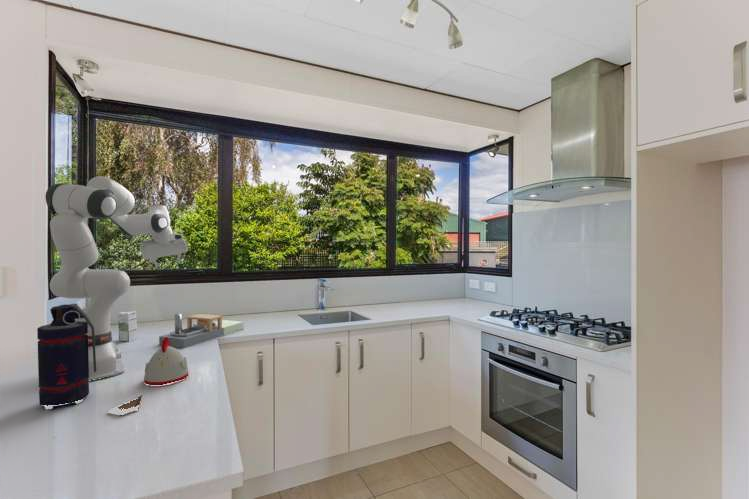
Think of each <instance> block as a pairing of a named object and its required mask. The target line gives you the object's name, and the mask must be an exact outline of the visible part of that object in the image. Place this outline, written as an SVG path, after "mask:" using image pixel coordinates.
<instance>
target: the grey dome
mask: <svg viewBox="0 0 749 499" xmlns="http://www.w3.org/2000/svg"><path fill="white" fill-rule="evenodd" d="M162 343H163V345H160V346H161V347H160V348H158V350H157V351H156V352H155V353H154V354H152V356H151V358H150V359H149V361H148V362H146V363H145V368H144V376H143V383H144V382H145V383H146V384H149V385H163V384H167V383H171V382H175V381H179V380H182V379H184V378H186V377H187V376H188V377H189V368H188V361H187V357H185V356H183V354H182V353H181V352H180V351H179V350H178V349H177V348H176V347H173V346H170V341H169V339H168V337H166V338H165V339H164V340H163V341H162Z"/></svg>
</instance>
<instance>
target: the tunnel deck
mask: <svg viewBox="0 0 749 499" xmlns="http://www.w3.org/2000/svg"><path fill="white" fill-rule="evenodd" d="M186 319H187V323H186V324H187V326H186V327H187V328H189V327H193V320H196V322H197V321H198V320H207V321H208V330H206V331H202V332H199V333H195V334H192V335H188V336H177V335H170V333H166V334H163V335H160V336H159V338H158V339H159V340H158V341H159V344H158V345H159V346H161V345H163V343H162V341H163V340H164V339H165V338H166V337H168V339H169V341H170V347H173V348H181V349H184V348H188V347H191V346H193V345H194V346H195V345H197V344H201V343H204V342H206V341H210V340H214V339H216V337H217V338H219V336H220V337H222V336H221V335H223V336H226V335H229V334H232V333H234V331H235V332H238V331H237V330H239V331H241V329H242V330H244V328H245V327H244V326H245V325H244V321H239V320H238V321H236V320H229V319H228V320H226V319H223V315H217V314H215V315H214V314H208V313H207V314H206V313H205V314H204V313H203V314H202V313H197V314H193V315H188V316H186ZM215 320H217V321H215ZM212 322H214V323H216V325H218V327H216V328H213V329H212ZM197 330H200V329H191V330H187V331H184V332H182V333H185V334H186V333H190V332H193V331H197ZM231 332H232V333H231ZM228 333H229V334H228ZM225 334H226V335H225Z"/></svg>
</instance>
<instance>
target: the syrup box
mask: <svg viewBox="0 0 749 499" xmlns="http://www.w3.org/2000/svg"><path fill="white" fill-rule="evenodd" d="M117 315H118V316H117V320H118V322H117V323H118V342H133V341H134V340H135V341H136V340H137V339H138V329H137V323H138V321H137V311H136V310H126V311H125V310H124V311H121V312H118V314H117Z"/></svg>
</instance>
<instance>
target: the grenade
mask: <svg viewBox="0 0 749 499" xmlns="http://www.w3.org/2000/svg"><path fill="white" fill-rule="evenodd" d="M82 309H83V308H81V307H80V306H79V305H78V303H71V304H60V305H57V306H52V307H51V308H50V309H49V311H50V314H51V317H52V319H53V320H51V323H48V324H45V325H41V326H39V327H37V329H36V330H37V331H36V332H37V336H36V337H37V340H38V341H37V365H38V366H37V367H38V368H37V369H38V371H37V372H38V388H39V389H38V399H39V401H38V402H39V403H38V404H39V406H41V405H47V406H48V405H59V404H65V403H71V404H73V403H72V402H75V401H78V400H81V399H83V398H84V399H85V398H86V397H88V396H89V394H90V381H89V380H88V378H89V358H88V335H87V333H88V324H89V326H90V327H91V329H92V346H93V364H94V372H96V353H95V335H94V325H93V324H92V323H91V321H90V320H89V318H88V317H87V315H86V314H85V313H84V312H83V311H82ZM80 318H85V320H86V321H87V322H84V321H79V319H80ZM75 319H78V320H77V321H75Z"/></svg>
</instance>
